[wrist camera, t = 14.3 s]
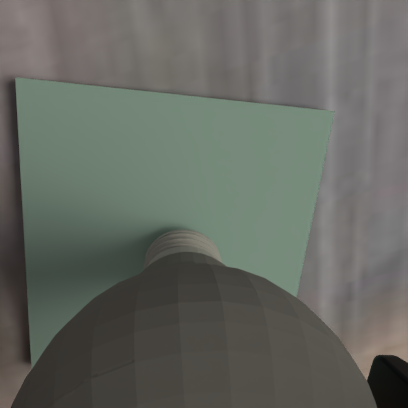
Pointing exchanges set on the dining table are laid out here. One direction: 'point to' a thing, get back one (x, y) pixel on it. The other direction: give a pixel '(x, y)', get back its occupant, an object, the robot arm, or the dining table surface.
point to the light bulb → (194, 343)
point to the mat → (157, 187)
